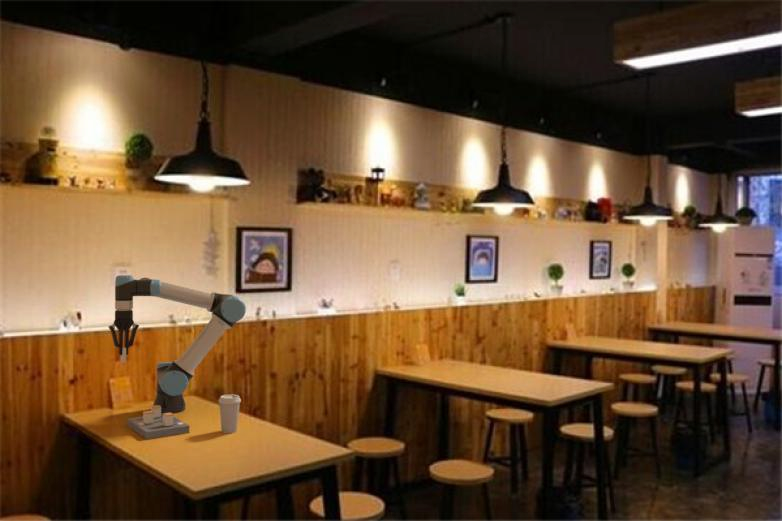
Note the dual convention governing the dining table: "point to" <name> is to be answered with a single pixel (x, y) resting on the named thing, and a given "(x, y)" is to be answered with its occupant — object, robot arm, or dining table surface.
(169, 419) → the slider
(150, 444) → the dining table surface
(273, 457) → the dining table surface
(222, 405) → the coffee cup
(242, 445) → the dining table surface
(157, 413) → the slider
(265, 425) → the dining table surface
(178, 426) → the switch unit
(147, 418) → the slider mid
